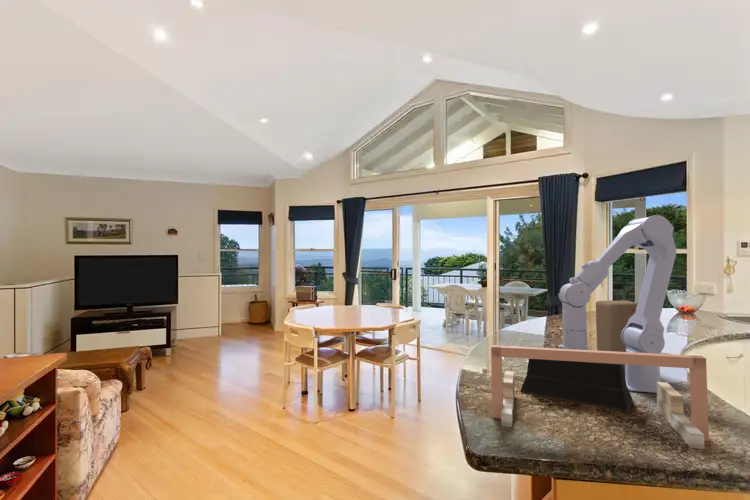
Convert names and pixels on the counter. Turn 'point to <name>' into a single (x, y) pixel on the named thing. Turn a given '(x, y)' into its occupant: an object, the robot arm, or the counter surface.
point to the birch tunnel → (666, 404)
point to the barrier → (579, 383)
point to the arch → (629, 358)
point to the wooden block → (612, 324)
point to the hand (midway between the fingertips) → (576, 381)
